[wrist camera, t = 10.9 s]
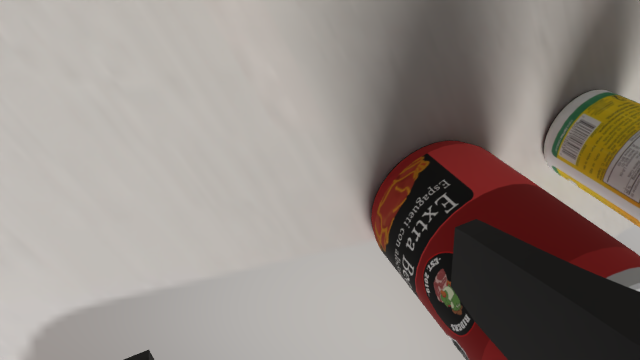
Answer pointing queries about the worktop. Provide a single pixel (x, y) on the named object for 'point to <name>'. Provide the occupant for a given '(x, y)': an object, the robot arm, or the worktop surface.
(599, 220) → the worktop surface
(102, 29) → the worktop surface
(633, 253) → the canned food
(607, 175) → the supplement bottle
